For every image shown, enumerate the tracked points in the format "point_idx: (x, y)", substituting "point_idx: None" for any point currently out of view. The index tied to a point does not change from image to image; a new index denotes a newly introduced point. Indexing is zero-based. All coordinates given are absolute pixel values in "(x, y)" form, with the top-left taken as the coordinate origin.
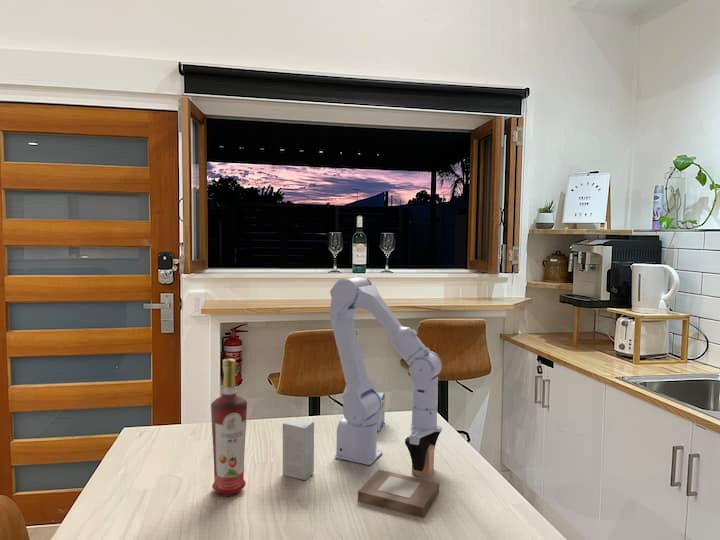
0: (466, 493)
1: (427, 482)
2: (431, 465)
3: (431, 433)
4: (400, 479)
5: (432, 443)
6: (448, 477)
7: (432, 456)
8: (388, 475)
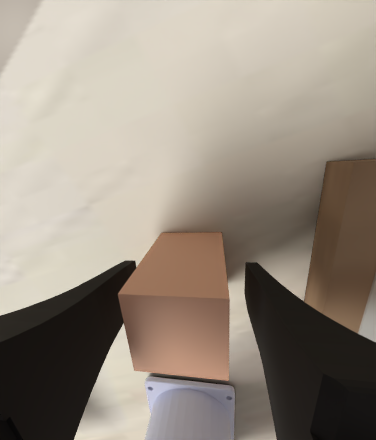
0: (293, 42)
1: (364, 214)
2: (186, 245)
3: (44, 376)
4: (374, 313)
5: (92, 305)
6: (186, 168)
7: (168, 263)
8: None
